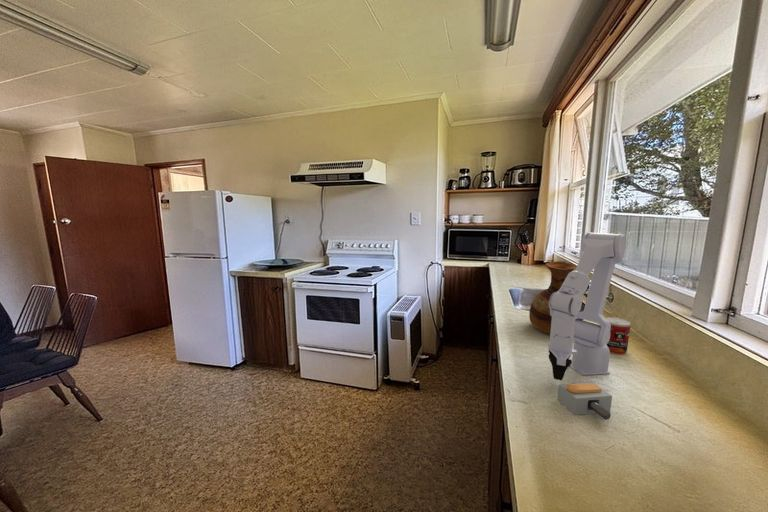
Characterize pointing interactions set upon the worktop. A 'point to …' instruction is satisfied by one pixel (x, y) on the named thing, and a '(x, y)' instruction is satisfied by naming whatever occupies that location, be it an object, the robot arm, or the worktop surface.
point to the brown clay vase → (549, 295)
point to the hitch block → (583, 400)
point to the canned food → (618, 335)
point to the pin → (599, 409)
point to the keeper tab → (583, 388)
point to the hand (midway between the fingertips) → (557, 377)
